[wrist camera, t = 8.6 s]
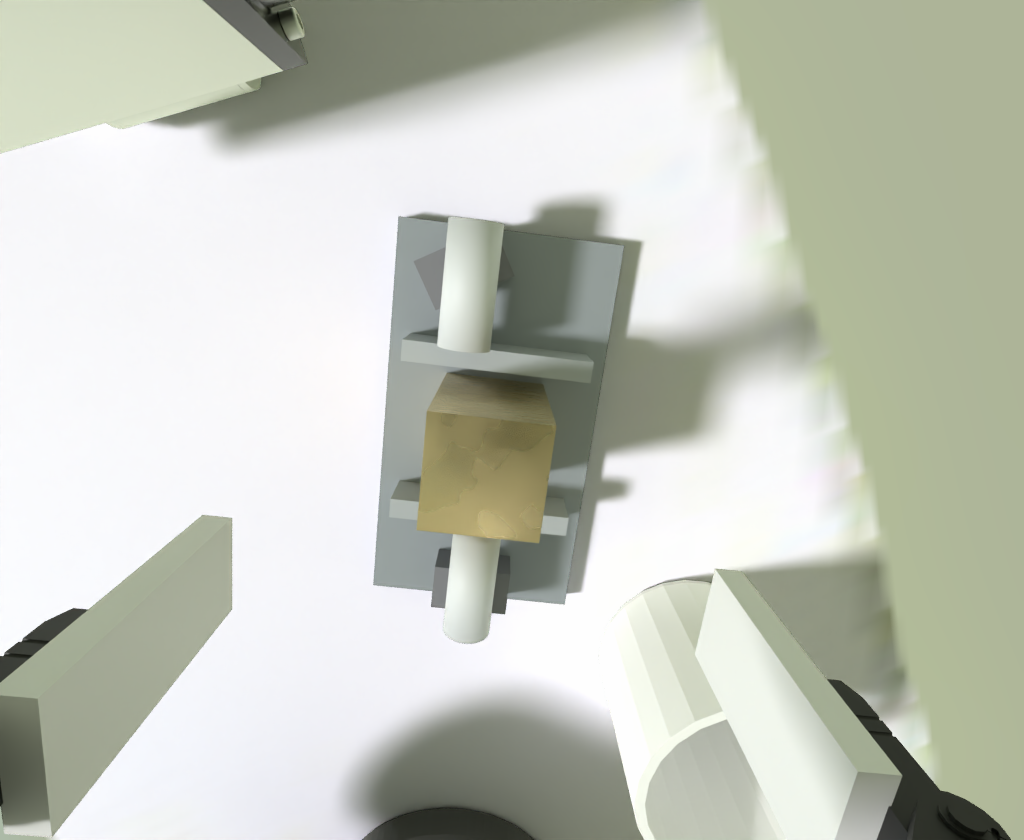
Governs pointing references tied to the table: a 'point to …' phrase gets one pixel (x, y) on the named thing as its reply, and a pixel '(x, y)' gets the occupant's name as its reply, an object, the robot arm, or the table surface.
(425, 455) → the coupling block
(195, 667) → the table surface
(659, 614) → the mug
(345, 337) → the table surface
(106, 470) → the table surface
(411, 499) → the shaft rig
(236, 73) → the ball valve
